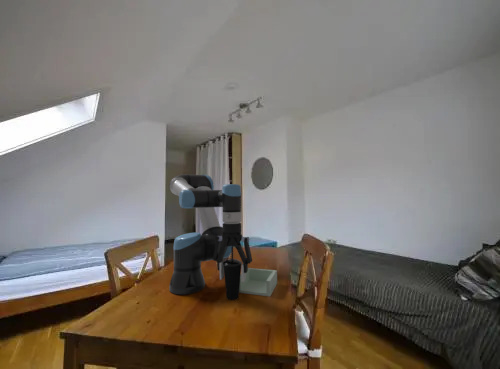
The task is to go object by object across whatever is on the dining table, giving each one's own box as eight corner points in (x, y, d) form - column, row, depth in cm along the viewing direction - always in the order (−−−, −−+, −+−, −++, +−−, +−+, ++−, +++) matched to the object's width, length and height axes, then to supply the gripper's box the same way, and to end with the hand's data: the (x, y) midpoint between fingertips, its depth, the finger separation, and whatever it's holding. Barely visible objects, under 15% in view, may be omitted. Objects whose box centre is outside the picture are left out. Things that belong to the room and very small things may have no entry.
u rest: (237, 292, 97) (237, 277, 97) (248, 280, 110) (247, 267, 110) (270, 296, 92) (269, 281, 93) (277, 283, 106) (276, 270, 106)
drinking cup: (239, 302, 87) (239, 248, 88) (220, 301, 89) (220, 248, 90) (244, 294, 95) (243, 244, 96) (226, 292, 96) (225, 244, 97)
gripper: (203, 223, 93) (203, 280, 92) (254, 224, 87) (255, 286, 85) (212, 221, 100) (212, 274, 99) (260, 222, 94) (261, 279, 93)
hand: (232, 279), depth 92 cm, fingers open, 9 cm apart
